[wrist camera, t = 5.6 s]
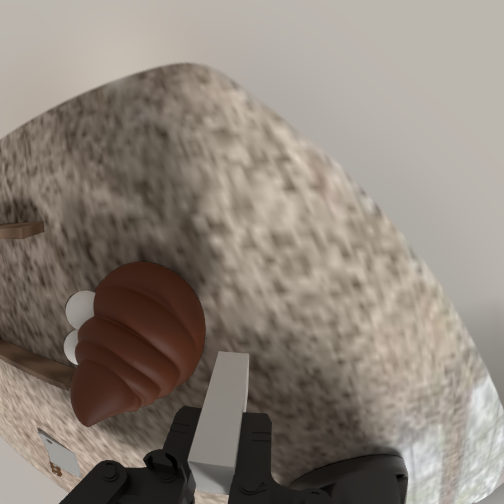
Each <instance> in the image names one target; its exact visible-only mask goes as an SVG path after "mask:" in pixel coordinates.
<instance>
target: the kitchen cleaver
mask: <svg viewBox="0 0 504 504" xmlns="http://www.w3.org/2000/svg"><path fill="white" fill-rule="evenodd" d="M38 435H39V436H40V438H41V439H42V441H43V442H44V444H45V446H46V448H47V451H48V453H49V457H50V462H51V467H52V472H53V473H54V474H56V475H57V476H60V477H61V475H62V474H61V472H60V471H61V470H60V468H61V469H63V470H65V471H67V472H69V473H71V474H73V475H75V476H77V477H79V478H81V474H80V468H79V464H78V461H77V458H76V454H75V453H73V452H72V451H70V450H69V449H67V448H66V447H64V446H63V445H61V444H60V443H59V442H57V441H56V440H54V439H53V438H52V437H50V436H49V435H48V434H46V433H45V432H44V431H39V432H38Z"/></svg>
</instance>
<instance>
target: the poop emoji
mask: <svg viewBox="0 0 504 504" xmlns="http://www.w3.org/2000/svg"><path fill="white" fill-rule="evenodd" d="M66 317H67V319H68V321H69V323H70V324H71V325H72V326H73V327H74V328H75V329H76V330H74V331H71V332H69V333H68V334H67V336H66V337H65V339H64V352H65V354H66V356H67V358H68V359H69V360H70V361H71V362H72V363H74V364H76V365H78V366H77V368H76V370H75V372H74V375H73V378H72V383H71V403H72V407H73V410H74V413H75V415H76V417H77V418H78V420H79V421H80V422H81V423H82V424H83V425H84V426H86V427H90V426H92V425H94V424H96V423H98V422H100V421H102V420H103V419H106V418H108V417H111V416H114V415H118V414H121V413H124V412H126V411H128V412H134V411H137V410H138V409H139V408H140V406H146V405H149V404H151V403H153V402H154V401H155V400H156V399H159V398H162V397H164V396H166V395H168V394H169V393H171V392H172V391H173V389H174V388H175V387H177V386H179V385H181V384H183V383H184V382H185V381H187V380H188V379H189V378H190V377H191V375H192V374H193V372H194V371H195V369H196V366H197V364H198V362H199V360H200V358H201V355H202V352H203V348H204V343H205V334H206V327H205V318H204V313H203V309H202V306H201V304H200V301H199V299H198V297H197V296H196V294H195V292H194V291H193V289H192V288H191V287H190V286H189V285H188V283H187V282H186V281H185V280H183V279H182V278H181V277H180V276H179V275H177V274H176V273H175V272H173V271H171V270H170V269H168V268H166V267H163V266H161V265H158V264H154V263H150V262H133V263H129V264H126V265H123V266H121V267H119V268H117V269H115V270H114V271H112V272H111V273H110V274H108V275H107V276H106V277H105V278H104V279H103V280H102V281H101V283H100V284H99V285H98V287H97V288H96V291H95V293H94V292H91V291H80V292H77V293H75V294H73V295H71V296H70V298H69V299H68V301H67V303H66Z"/></svg>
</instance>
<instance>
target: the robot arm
mask: <svg viewBox="0 0 504 504" xmlns="http://www.w3.org/2000/svg"><path fill="white" fill-rule="evenodd" d="M248 376H249V354H248V353H234V352H222V351H219V352H218V356H217V359H216V363H215V366H214V370H213V373H212V377H211V380H210V384H209V387H208V390H207V394H206V397H205V401H204V404H203V408H195V407H188V406H183V407H182V408H181V409H180V410H179V411H178V412H177V413H176V415H175V417H174V420H173V424H172V425H171V428H170V431H169V433H168V436H167V439H166V441H165V444H164V447H163V449H158V450H154V451H151V452H150V453H148V454H146V456H145V457H144V458H143V461H144V462H145V464H146V466H147V467H143V468H127V467H124V466H122V465H121V464H120V463H118V462H116V461H113V460H105V461H102V462H100V463H98V464H97V465H96V466H95V467H94V468H93V469H92V470H91V471H90V472H89V473H88V474H87V475H86V476H85V477H84V479H83V480H82V481H81V482H80V483H79V484H78V485H77V486H76V487H75V488H74V489H73V490H72V491H71V492H70V493H69V494H68V495H67V496H66V497H65V498H64V499H63V500H62V501H61V502H60V503H59V504H195V498H194V492H195V488H196V489H197V491H203V492H210V493H217V494H225V495H229V499H228V504H406V498H407V487H408V472H407V469H406V466H405V463H404V461H403V459H402V458H400V457H398V456H394V455H374V456H366V457H360V458H355V459H351V460H347V461H343V462H339V463H336V464H332V465H329V466H326V467H323V468H320V469H318V470H315V471H313V472H310V473H308V474H306V475H304V476H302V477H300V478H299V479H297V480H296V481H294V482H293V483H292V484H291V485H290V486H289V488H286V487H284V486H281V485H280V484H278V483H277V482H276V481H275V480H274V479H273V477H272V475H271V429H272V422H271V421H270V419H269V417H268V415H267V414H264V413H246V405H247V397H248Z"/></svg>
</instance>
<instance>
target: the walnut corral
mask: <svg viewBox="0 0 504 504" xmlns="http://www.w3.org/2000/svg"><path fill="white" fill-rule="evenodd" d="M42 232H44V226H43V222H26V223H10V224H0V239H24V238H27V237H30V236H33V235H36V234H39V233H42ZM0 359H2V360H3V361H5V362H7V363H9V364H11V365H12V366H14V367H16V368H18V369H20V370H22V371H24V372H26V373H28V374H30V375H32V376H34V377H36V378H38V379H41V380H43V381H45V382H47V383H50V384H52V385H54V386H57V387H59V388H62V389H64V390H68V389H69V388H70V387H71V383H72V378H73V375H74V372H75V370H76V369H75V368H72V367H69V366H66V365H63V364H60V363H58V362H55V361H52V360H49V359H47V358H44V357H42V356H39V355H36V354H34V353H32V352H29V351H27V350H24V349H22V348H20V347H18V346H15V345H13V344H11V343H9V342H7V341H5V340H3V339H1V338H0Z"/></svg>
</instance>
